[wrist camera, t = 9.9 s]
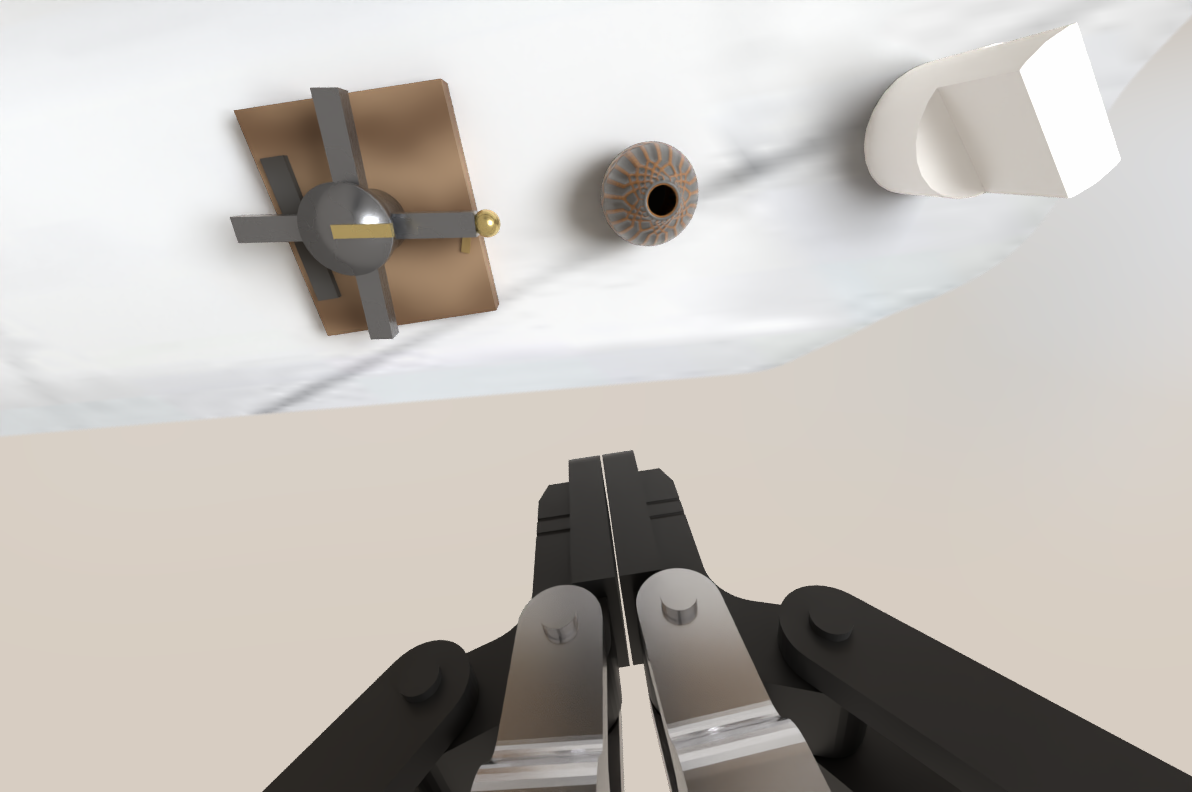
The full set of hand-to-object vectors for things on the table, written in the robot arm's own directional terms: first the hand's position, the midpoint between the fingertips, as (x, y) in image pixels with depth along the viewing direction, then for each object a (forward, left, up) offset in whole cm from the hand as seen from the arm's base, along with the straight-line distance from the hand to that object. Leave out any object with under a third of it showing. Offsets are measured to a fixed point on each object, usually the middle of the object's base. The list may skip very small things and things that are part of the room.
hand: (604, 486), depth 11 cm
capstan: (-5, -14, -29) cm, 33 cm away
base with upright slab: (-5, +28, -31) cm, 42 cm away
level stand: (-5, -14, -31) cm, 34 cm away
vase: (-4, +6, -31) cm, 32 cm away
